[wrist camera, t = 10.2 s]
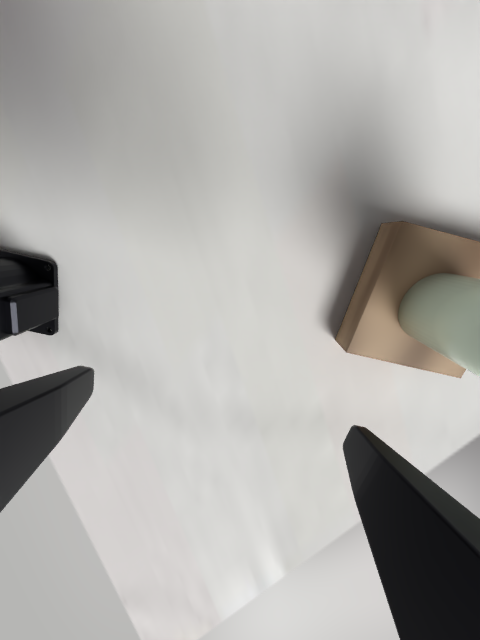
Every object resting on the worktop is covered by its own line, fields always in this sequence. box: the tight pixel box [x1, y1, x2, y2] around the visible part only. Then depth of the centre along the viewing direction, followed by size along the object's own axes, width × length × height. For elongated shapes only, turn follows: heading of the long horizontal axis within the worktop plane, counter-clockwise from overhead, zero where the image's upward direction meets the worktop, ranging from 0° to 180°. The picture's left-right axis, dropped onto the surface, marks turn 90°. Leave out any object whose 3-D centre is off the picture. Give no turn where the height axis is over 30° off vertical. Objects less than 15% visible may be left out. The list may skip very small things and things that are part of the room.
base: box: [335, 221, 480, 378], centre depth 19 cm, size 10×10×2 cm
